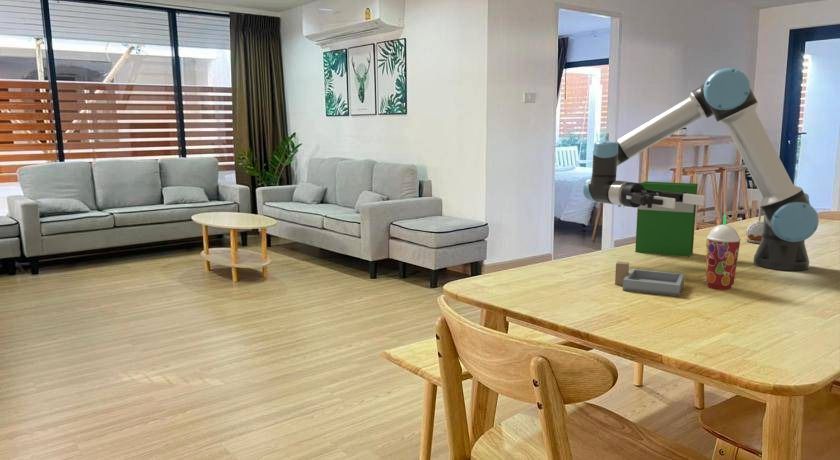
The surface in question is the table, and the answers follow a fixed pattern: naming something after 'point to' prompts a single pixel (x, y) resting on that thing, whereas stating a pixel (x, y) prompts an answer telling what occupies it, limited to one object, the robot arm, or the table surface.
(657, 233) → the hardback book
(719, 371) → the table surface
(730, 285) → the smoothie
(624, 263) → the tray
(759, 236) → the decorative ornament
